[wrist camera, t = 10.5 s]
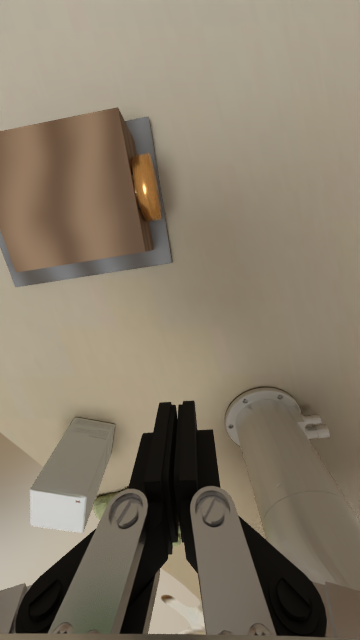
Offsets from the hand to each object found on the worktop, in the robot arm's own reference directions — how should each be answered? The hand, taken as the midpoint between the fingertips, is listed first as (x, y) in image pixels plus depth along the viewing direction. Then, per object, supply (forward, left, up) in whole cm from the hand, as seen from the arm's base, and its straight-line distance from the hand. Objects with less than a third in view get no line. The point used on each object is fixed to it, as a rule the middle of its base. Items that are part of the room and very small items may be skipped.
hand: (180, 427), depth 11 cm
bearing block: (+12, -14, -24) cm, 30 cm away
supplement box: (+20, +22, -24) cm, 38 cm away
